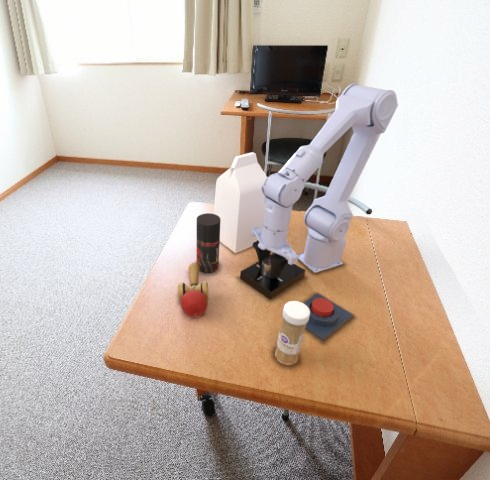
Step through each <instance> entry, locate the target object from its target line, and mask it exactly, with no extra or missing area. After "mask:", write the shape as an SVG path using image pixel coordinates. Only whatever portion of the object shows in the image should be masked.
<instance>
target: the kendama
mask: <svg viewBox="0 0 490 480" xmlns="http://www.w3.org/2000/svg"><path fill="white" fill-rule="evenodd" d="M199 270H200V267H199V265H198V264H197V262H192V263H190V264H189V265H188V275H189V284H190V285H188V284H186V283H185V282H178V284H177V296H178V300H179V303H180V307H181V310H182V312H183V313H184V314H185V315H186V316H188V317H191V318H197V317H200V316H202V315H203V314H204V313H205V312H206V311H207V308H208V300H209V299H210V295H209V293H210V292H209V285H208V281H206V280H205V281H204V280H203V281H202V282H201V283H199V278H200V271H199Z"/></svg>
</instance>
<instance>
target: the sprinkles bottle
mask: <svg viewBox="0 0 490 480" xmlns="http://www.w3.org/2000/svg"><path fill="white" fill-rule="evenodd" d="M309 316H310V310H309V308H308V307H307V306H306V305H305V304H304V302H301V301H298V300H289V301H288V302H286V303H285V304H284V306H283V309H282V319H281V324H280V328H279V331H278V336H277V340H276V341H277V343H276V349H275V350H274V356H275V359H276V360H277V362H279V363H280V364H282V365H283V366H293V365H295V364H297V363H298V361H299V355H300V351H301V348H302V344H303V341H304V337H305V332H306V329H305V328H306V324H307V322H308V320H309Z"/></svg>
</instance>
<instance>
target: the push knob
mask: <svg viewBox="0 0 490 480" xmlns="http://www.w3.org/2000/svg"><path fill="white" fill-rule="evenodd" d="M328 300H329V299H328ZM328 300H326V299H323V298H317V299H314V300H313V302H312V306H311V310H312V312H313V313H314V314H316V315H317V316H321V317H329V316H331V314H332V312H333V309H334V306H333V304H332V303H331V302H332V301H331V300H330V301H331V302H330V301H328Z"/></svg>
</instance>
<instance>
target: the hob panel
mask: <svg viewBox="0 0 490 480" xmlns="http://www.w3.org/2000/svg"><path fill="white" fill-rule="evenodd" d="M275 254H276V253H274V252H271V254H270V256H272V255H275ZM305 274H306V269H305V268H302V267H301V266H299V265H297V263H295V264H292V265H290V264H289V263H287V264H286V265H285V267H284V268H283V270H282V272H281V274H280V276H279V277H276V278H274V279H273V278H267V277H265V276H263V275H262V274H261V268H260V267H259V262H258V261H256V262H254V263H253V264H251V265H249V266H247V267H245V268H244V269H242V270H240V273H239V279H240V280H241V281H242V282H244V283H245V284H247V285H248V286H250V287H251V288H252V289H254V290H255V291H257V292H258V293H260V294H261V295H263V296H264V297H265V298H267V299H268V300H272V299H273V298H275V297H277V296H279V295H280V294H281V293H283V292H284V291H285V290H288V289H289V288H290V287H292V286H294V285H295V284H297V283H298V282H299V281H301V280H302V279H304V278H305Z"/></svg>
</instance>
